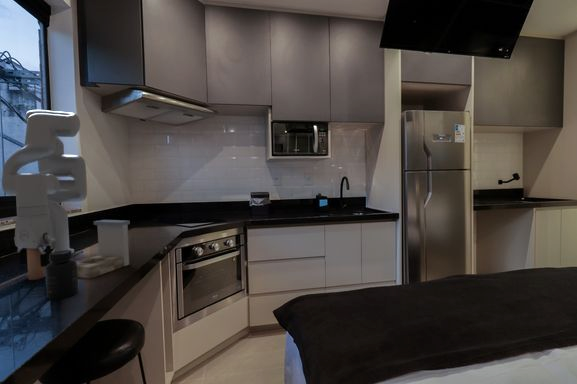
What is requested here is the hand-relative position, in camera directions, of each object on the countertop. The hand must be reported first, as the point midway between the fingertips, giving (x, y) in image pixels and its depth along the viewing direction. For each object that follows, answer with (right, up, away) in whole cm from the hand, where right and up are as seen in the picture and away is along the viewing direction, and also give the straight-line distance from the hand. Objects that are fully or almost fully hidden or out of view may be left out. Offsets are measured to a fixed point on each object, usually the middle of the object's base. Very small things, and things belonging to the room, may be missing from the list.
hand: (36, 264), depth 92 cm
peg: (0, -4, 0) cm, 4 cm away
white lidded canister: (+17, -4, +14) cm, 22 cm away
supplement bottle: (+20, -5, -14) cm, 25 cm away
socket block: (+14, -4, +6) cm, 16 cm away
